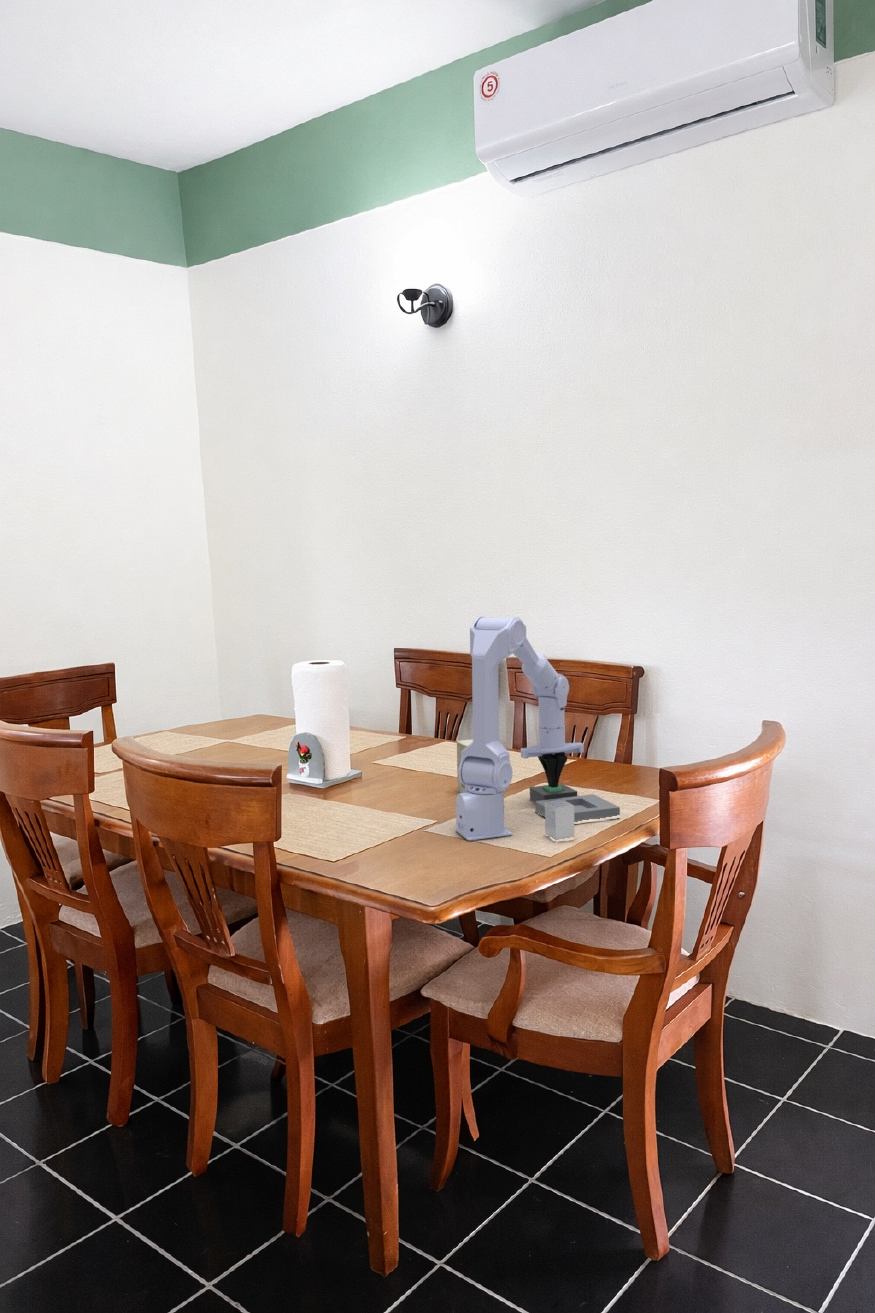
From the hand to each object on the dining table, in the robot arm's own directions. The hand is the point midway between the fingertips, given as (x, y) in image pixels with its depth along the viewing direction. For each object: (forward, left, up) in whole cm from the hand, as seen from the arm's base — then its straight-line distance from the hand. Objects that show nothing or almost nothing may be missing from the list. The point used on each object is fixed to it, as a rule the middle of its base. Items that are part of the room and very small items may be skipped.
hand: (553, 786), depth 223 cm
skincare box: (-14, +16, -4) cm, 22 cm away
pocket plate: (0, -12, -4) cm, 13 cm away
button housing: (0, 0, -4) cm, 4 cm away
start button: (0, 0, -2) cm, 2 cm away
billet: (-10, -25, -4) cm, 27 cm away
